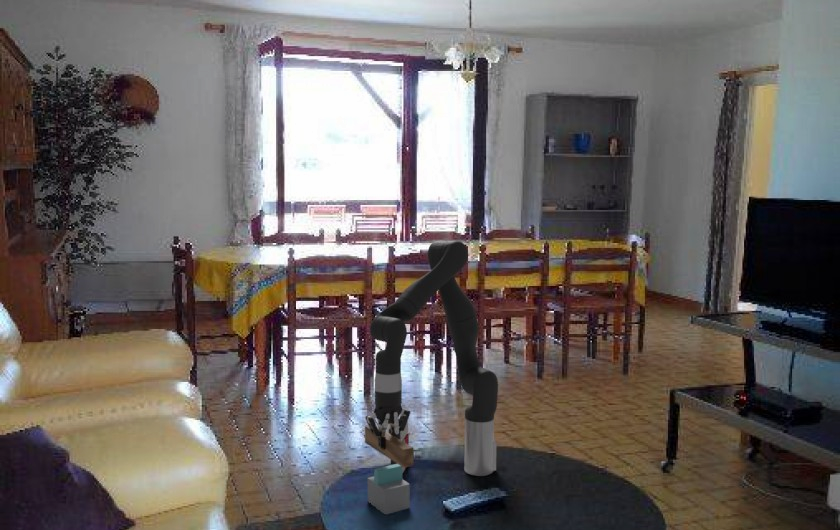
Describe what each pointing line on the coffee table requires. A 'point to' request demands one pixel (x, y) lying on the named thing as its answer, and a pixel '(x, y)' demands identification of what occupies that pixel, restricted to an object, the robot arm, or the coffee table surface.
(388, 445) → the walnut beam
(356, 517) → the coffee table surface
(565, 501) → the coffee table surface
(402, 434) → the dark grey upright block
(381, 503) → the balance stand
